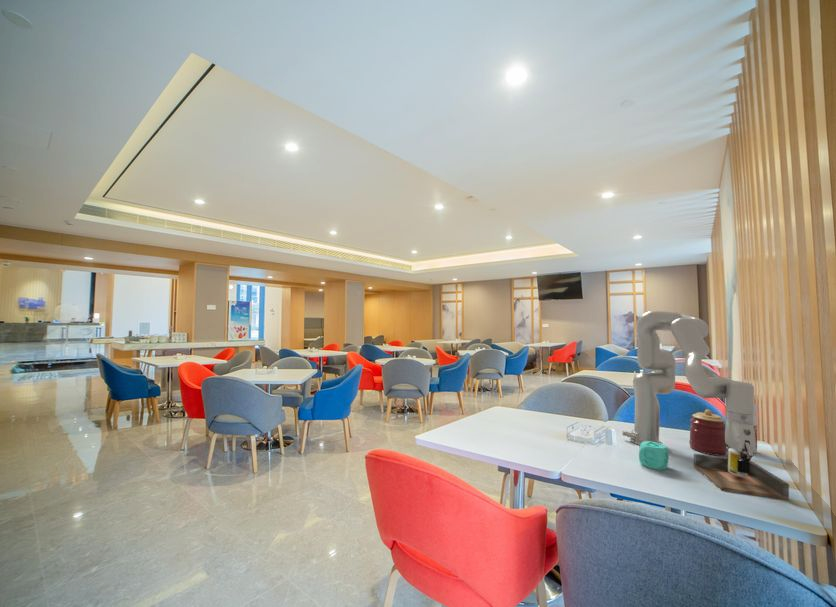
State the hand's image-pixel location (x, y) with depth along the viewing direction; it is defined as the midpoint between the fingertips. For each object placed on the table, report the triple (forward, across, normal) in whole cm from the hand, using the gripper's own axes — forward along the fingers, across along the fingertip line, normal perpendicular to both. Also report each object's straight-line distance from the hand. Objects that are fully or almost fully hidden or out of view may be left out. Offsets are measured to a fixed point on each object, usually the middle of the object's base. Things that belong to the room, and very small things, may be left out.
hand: (738, 468), depth 129 cm
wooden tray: (+4, -1, +1) cm, 5 cm away
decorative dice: (+5, +4, +25) cm, 26 cm away
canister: (+5, +34, -5) cm, 35 cm away
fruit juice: (+5, +41, -21) cm, 46 cm away
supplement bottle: (+2, 0, 0) cm, 2 cm away
